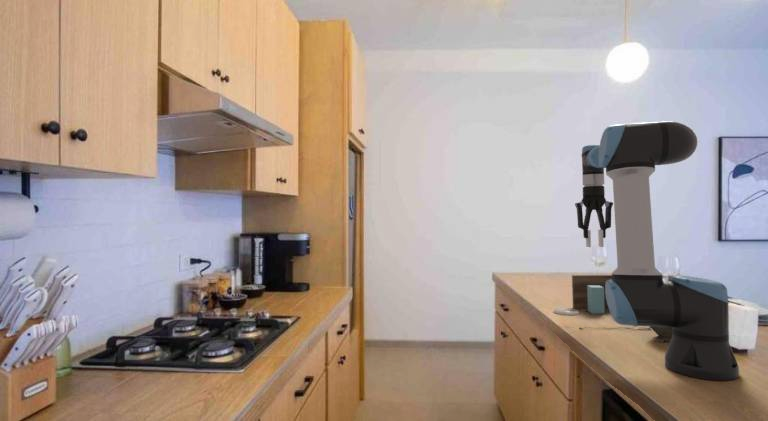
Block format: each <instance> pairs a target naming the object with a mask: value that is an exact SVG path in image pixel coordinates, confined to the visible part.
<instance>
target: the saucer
mask: <svg viewBox="0 0 768 421" xmlns="http://www.w3.org/2000/svg"><path fill="white" fill-rule="evenodd" d="M553 313H554V314H556V315H560V316H577V315H579V314H580V311H579V310H578V309H574V308H569V307H559V308H558V307H557V308H555V309H553Z"/></svg>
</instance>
